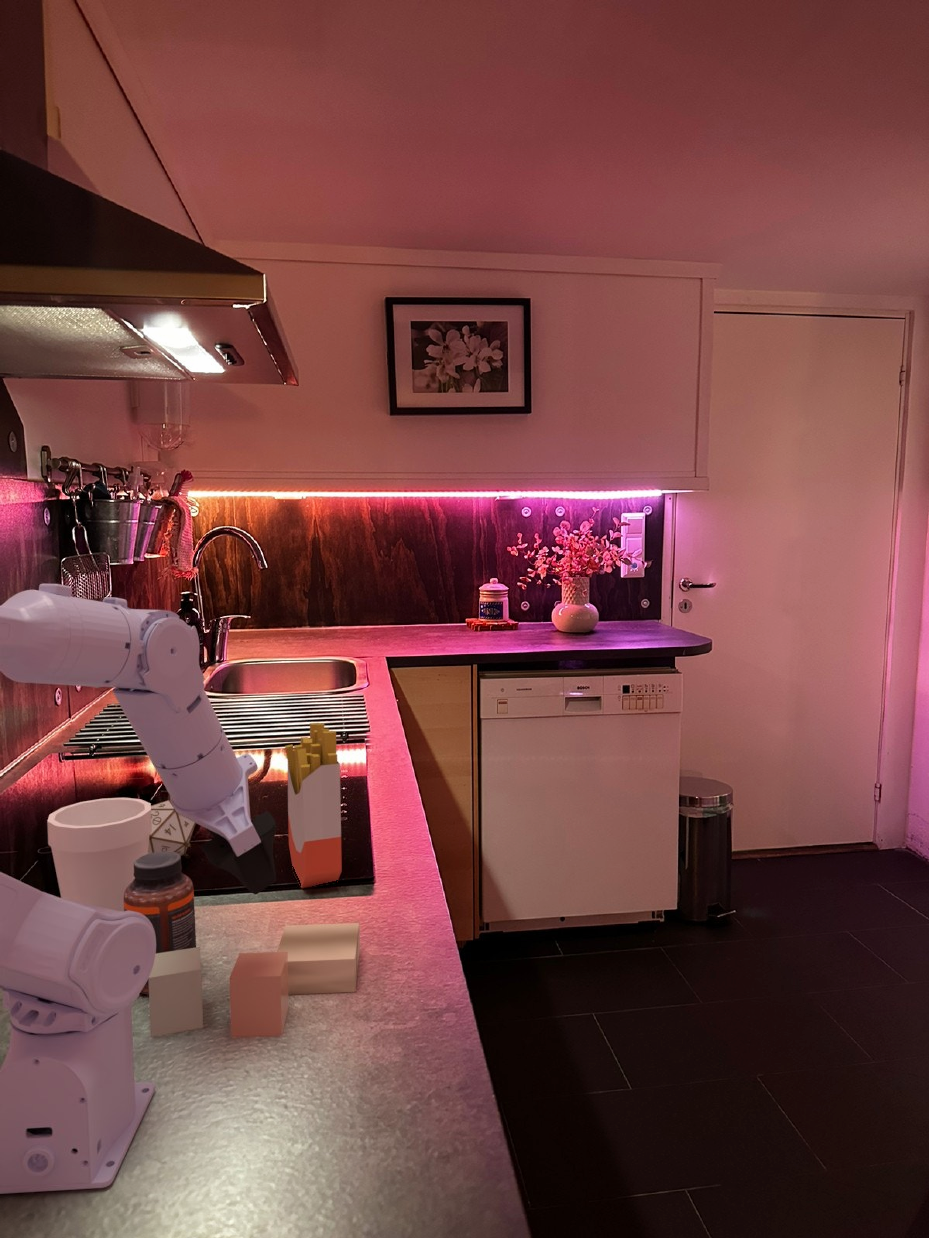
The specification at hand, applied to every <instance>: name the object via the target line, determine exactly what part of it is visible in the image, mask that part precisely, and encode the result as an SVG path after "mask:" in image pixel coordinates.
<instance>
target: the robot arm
mask: <svg viewBox="0 0 929 1238" xmlns="http://www.w3.org/2000/svg"><path fill="white" fill-rule="evenodd" d="M72 591H73V588H72V587H71V586H69V585H64V584H60V583H41V584H39V586H38V590H36V589H27V590H23V591H20V592H18V593H15V594H14V595H12V596H11V597H9V598H7V600H6V601H5V602H4V603H2V604H1V605H0V672H1V673H2V674H3V675H4V676H5V677H6V678H8V679H10V680H11V681H13V682H17V683H25V684H26V683H28V684H42V685H46V684H47V685H63V686H77V687H92V688H95V689H100V688H102V687H104V688H105V687H107V688H114V689H112V693H113V695H114V696H115V698H116V700H117V702H118V704H119V706H120V707H121V710H122V711H123V713H124V715H125V717H126V719H127V720H128V722H129V724H130V726H131V728H132V729H133V731H134V733H135V734H136V736H137V738H138V741H139V742H140V744H141V745H142V747H143V749H144V751H145V753H146V754H147V756H148V759H149V760H150V762H151V763H152V765H153V767H154V769H155V771H156V773H157V774H158V776H159V777H160V780H161V781H162V783H163V785H164V786H165V789H166V792H167V793H168V796H169V795H170V798H171V803H172V805H173V807H174V809H175V811H176V812H177V813H178V814H179V815H181V816H183V817H185V818H187V819H189V820H191V821H193V822H195V823H196V825H199V826H202V827H203V828H205V829H206V830H208V831H209V833H210V834H211V835H212V836H213V838H211V839H210V840H208V841H207V842H205V843H204V844H202V845H200V848H201V850H202V852H203V854H204V855H205V858H207V860H208V862H209V863H210V864H212V865H213V866H214V867H216V868H217V869H221V870H224V871H226V872H228V873H230V874H231V875H233V876H234V877H236V878H237V880H238V881H239V882H240V883H241V884H242V885H243V886H244V888H246V889H247V890H248V891H249V892H250V893H252V894H253V895H257V894H259V893H261V892H262V891H264V890H265V889H266V888H268V887H270V886H272V884H274V883H276V881H277V873H276V867H275V861H274V854H273V853H274V851H273V846H274V840H275V837H276V834H277V830H278V829H277V822H276V820H275V818H274V817H273V816H272V814H271V813H270V812H269V810H266V811H264V812H263V813H261V814H260V815H258V816H256V817H255V818H251V809H250V808H251V807H250V796H249V793H250V792H249V781H248V779H249V777H250V776H251V775H252V774H254V773H256V772H257V771H258V768H259V767H258V764H257V762H256V760H255V759H254V758H253V757H252V755H250V754H249V753H245V754H242V755H240V756H238V757H237V756H236V753H235V752H234V749H233V747H232V746H231V743H230V742H229V739H228V737H227V734H226V733H225V731H224V728H223V726H222V724H221V722H220V720H219V717H218V715H217V713H216V712H215V710H214V707H213V706H212V703H211V701H210V699H209V697H208V694H207V693H206V691H205V683H204V680H206V677H205V676H204V673H203V671H202V669H201V667H200V639H199V635H198V630H197V628H196V626H195V625H192V626H191V625H188V624H187V622H186V621H184V620H183V619H181V618H180V615H179V614H177V613H176V612H174V611H171V610H166V609H140V608H137V609H136V608H130V607H128V601H127V599H124V598H120V597H112V596H111V597H104V598H103V599H102V601H99V600H94V599H88V598H81V597H75V596H72ZM155 954H156V936H155V931H154V928H153V926H152V924H151V922H150V921H149V919H148V918H147V917H146V916H144V915H143V914H141V913H138V912H134V911H117V910H113V909H108V908H103V907H99V906H94V905H90V904H85V903H80V902H76V901H71V900H67V899H62V898H61V897H59V896H56V895H54V894H50V893H47V892H45V891H41V890H40V889H38V888H35V887H33V886H31V885H29V884H26V883H24V882H22V881H21V880H19V879H16V878H14V877H12V876H9V875H8V874H6V873H3V872H2V871H0V990H2V1005H3V1008H4V1009H5V1010H8V1011H9V1019H10V1020H9V1023H10V1036H9V1037H10V1038H9V1045H8V1050H7V1053H6V1055H5V1058H4V1061H3V1063H2V1065H1V1067H0V1194H19V1193H21V1194H22V1193H34V1192H52V1191H53V1192H54V1191H69V1190H70V1191H71V1190H72V1191H73V1190H85V1189H87V1190H88V1189H103V1188H106V1187H108V1186H111V1184H112V1183H113V1182H114V1180H115V1178H116V1176H117V1173H118V1171H119V1169H120V1167H121V1165H122V1162H123V1160H124V1158H125V1156H126V1154H127V1152H128V1149H129V1148H130V1145H131V1143H132V1140H133V1139H134V1136H135V1134H136V1133H137V1130H138V1128H139V1125H140V1123H141V1121H142V1119H143V1117H144V1115H145V1113H146V1111H147V1108H148V1106H149V1104H150V1101H151V1100H152V1098H153V1095H154V1093H155V1091H156V1084H155V1082H153V1081H140V1082H135V1068H134V1067H135V1065H134V1064H135V1062H134V1061H135V1060H134V1042H133V1041H134V1038H133V1035H134V1034H133V1017H132V1016H133V1013H132V1011H133V1009H132V1003H133V1002H135V1001H136V1000H138V998H139V997H140V994H141V993H140V992H141V990H142V989H143V987H144V986H145V984H146V982H147V980H148V978H149V976H150V974H151V971H152V968H153V965H154V960H155Z"/></svg>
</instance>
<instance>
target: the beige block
mask: <svg viewBox="0 0 929 1238" xmlns="http://www.w3.org/2000/svg"><path fill="white" fill-rule="evenodd" d="M201 955H202V954H201V946H196V948H189V949H183V950H176V951H170V952H163V953H157V954H155V960H154V965H153V968H152V971H151V974H150V976H149V978H148V979H149V994H148V997H149V998H148V999H149V1003H148V1004H149V1024H150V1025H149V1027H150V1032H149V1033H150V1038H154V1037H160V1036H166V1035H167V1036H168V1035H171V1034H176V1033H182V1032H188V1031H194V1030H198V1029H203V1028H204V1011H203V1009H204V1008H203V1005H204V1004H203V982H202V981H203V980H202V977H203V976H202V975H203V973H202V957H201ZM187 1030H188V1031H187Z"/></svg>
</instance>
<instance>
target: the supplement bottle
mask: <svg viewBox="0 0 929 1238" xmlns="http://www.w3.org/2000/svg"><path fill="white" fill-rule="evenodd" d="M181 857H182V856H180V855H179V854H178V853H175V852H170V851H163V852H154V853H149V854H146V855H143V856H141V857H139V858H138V859H136V860H135V862H134V874H133V875H134V877H135V879H134V880H133V882H131V883H130V884H129V885H128V887H127V888H126V890H125V892H124V911H134V912H138V913H141V914H143V915H144V916H146V917H147V918H148V919H149V921H150V922H151V924H152V926H153V928H154V931H155V936H156V954H157V953H163V952H170V951H176V950H183V949H189V948H196V947H197V936H196V935H197V934H196V916H195V914H196V912H195V894H194V893H195V892H194V891H195V890H194V883H193V881H192V879H191V878H190V877H189V876H187V875H186V874H184V873H183V872H182V869H183V866H182V858H181ZM139 994H143V995H144V994H145V995H149V979H148V980H147V982H146V984H145V986H144V987H143V989H142V990H141V992H140V993H139Z"/></svg>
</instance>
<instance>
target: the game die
mask: <svg viewBox="0 0 929 1238" xmlns="http://www.w3.org/2000/svg"><path fill="white" fill-rule="evenodd" d="M151 824H152V833H150V835H149V845H148V854H149V853H154V852H163V851H170V852H175V853H178V854H179V855H180V856H181V857H182V856H183V857H184V856H185V857H186V856H189V857H190V854H189V853H186V852H187V851H188V848H190V847H192V846H191V843H190V841H191V839H192V836H193V833H194V830H195V827H196V825H197V823H195V822H193V821H191V820H189V819H187V818H185V817H183V816H181V815H179V814H178V813H177V812H176V811H175V809H174V807H173V805H172V803H171V798H170V795H169V794H168V795H167V800H165V801H164V800H163V801H160V802H158V803H155V804H152V805H151ZM185 857H184V858H185Z"/></svg>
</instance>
